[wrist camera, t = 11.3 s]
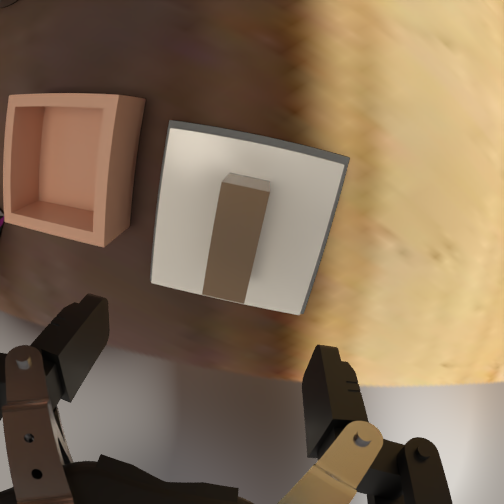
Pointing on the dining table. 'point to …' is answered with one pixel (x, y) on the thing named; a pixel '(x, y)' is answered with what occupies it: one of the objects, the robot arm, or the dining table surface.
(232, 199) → the lid
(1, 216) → the candy bar box
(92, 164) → the dish
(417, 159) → the dining table surface
